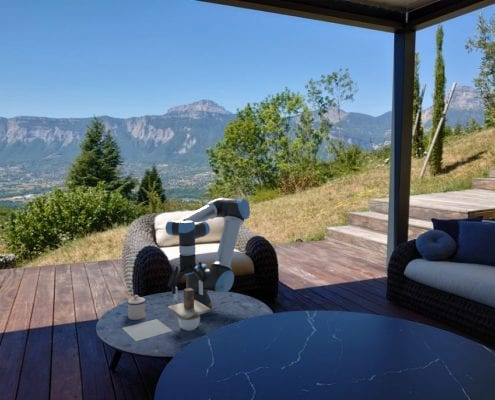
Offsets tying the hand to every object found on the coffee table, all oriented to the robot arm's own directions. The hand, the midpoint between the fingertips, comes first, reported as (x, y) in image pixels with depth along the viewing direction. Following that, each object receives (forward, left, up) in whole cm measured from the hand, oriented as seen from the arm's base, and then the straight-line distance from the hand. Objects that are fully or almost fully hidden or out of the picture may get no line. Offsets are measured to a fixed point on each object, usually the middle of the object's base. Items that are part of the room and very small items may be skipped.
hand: (188, 297), depth 195 cm
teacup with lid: (+15, -31, -16) cm, 38 cm away
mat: (+17, -11, -16) cm, 26 cm away
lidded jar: (0, 0, -16) cm, 16 cm away
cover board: (0, 0, -6) cm, 6 cm away
